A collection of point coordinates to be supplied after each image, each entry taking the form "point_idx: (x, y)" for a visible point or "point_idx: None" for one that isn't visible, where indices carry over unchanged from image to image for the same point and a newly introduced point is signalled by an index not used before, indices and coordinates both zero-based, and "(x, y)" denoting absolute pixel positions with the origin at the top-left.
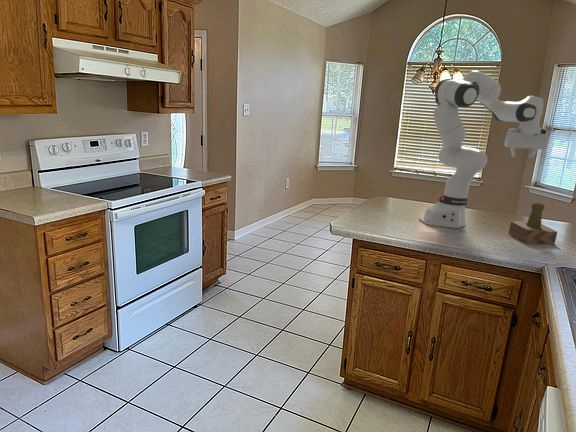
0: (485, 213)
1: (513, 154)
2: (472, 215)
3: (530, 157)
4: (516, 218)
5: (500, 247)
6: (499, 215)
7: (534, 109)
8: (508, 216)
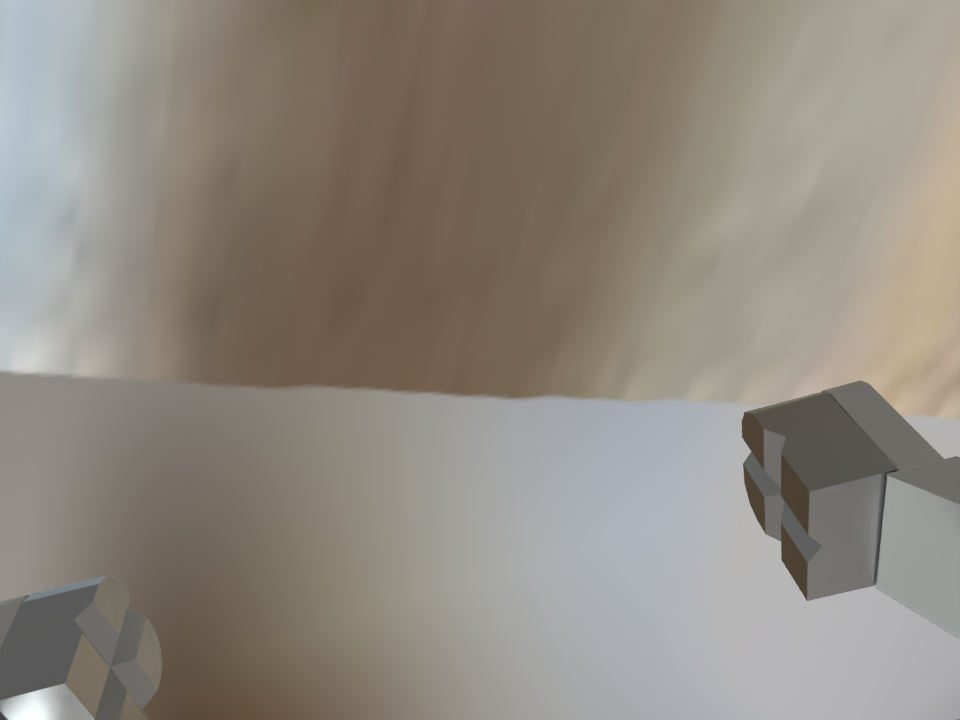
0: (515, 328)
1: (900, 421)
2: (670, 182)
3: (129, 614)
4: (251, 284)
5: None
6: (397, 319)
7: None
8: (317, 324)
